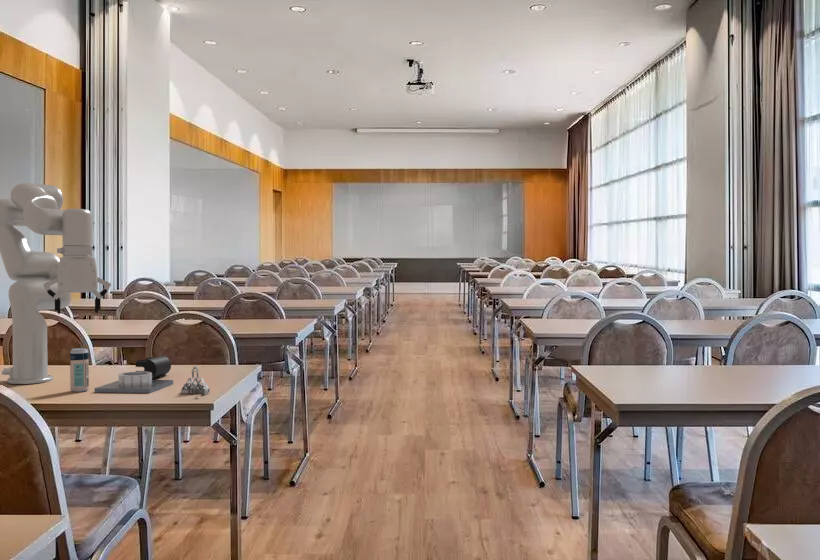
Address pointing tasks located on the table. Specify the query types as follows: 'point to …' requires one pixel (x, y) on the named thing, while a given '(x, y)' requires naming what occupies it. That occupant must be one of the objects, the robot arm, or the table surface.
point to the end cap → (155, 365)
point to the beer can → (79, 370)
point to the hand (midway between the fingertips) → (77, 312)
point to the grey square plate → (134, 383)
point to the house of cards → (195, 388)
